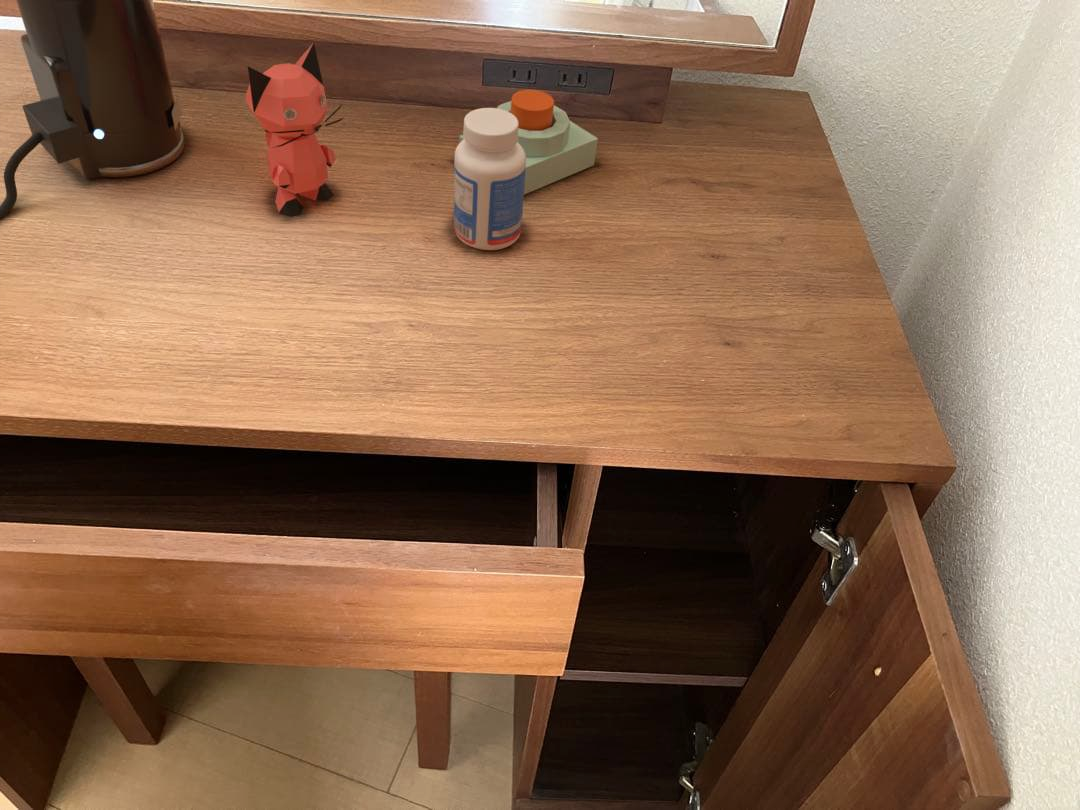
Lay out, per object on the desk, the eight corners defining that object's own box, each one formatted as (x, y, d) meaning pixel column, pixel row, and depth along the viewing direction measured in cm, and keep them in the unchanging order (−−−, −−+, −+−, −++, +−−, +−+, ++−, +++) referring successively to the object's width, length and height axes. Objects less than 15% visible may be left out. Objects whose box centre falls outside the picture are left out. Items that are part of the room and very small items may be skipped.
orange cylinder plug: (529, 137, 75) (531, 114, 73) (501, 118, 77) (502, 96, 75) (560, 125, 77) (563, 103, 75) (532, 107, 78) (534, 85, 77)
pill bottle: (524, 217, 74) (534, 108, 67) (516, 256, 70) (526, 144, 63) (458, 208, 74) (461, 98, 67) (447, 247, 70) (449, 134, 63)
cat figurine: (291, 232, 70) (272, 87, 61) (236, 195, 72) (210, 51, 64) (360, 197, 74) (351, 56, 65) (305, 163, 76) (289, 24, 68)
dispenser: (509, 200, 75) (513, 153, 72) (458, 163, 79) (459, 116, 76) (594, 165, 81) (601, 119, 77) (542, 131, 84) (547, 86, 81)
